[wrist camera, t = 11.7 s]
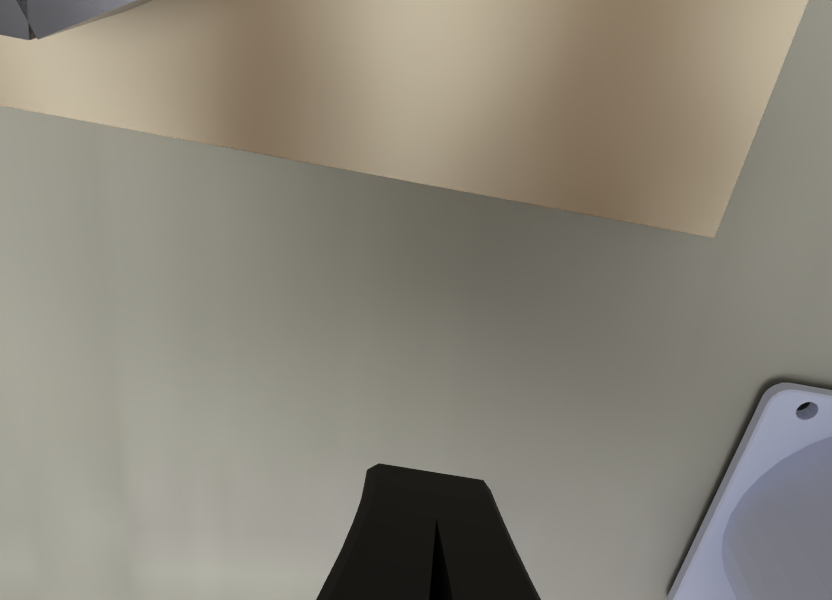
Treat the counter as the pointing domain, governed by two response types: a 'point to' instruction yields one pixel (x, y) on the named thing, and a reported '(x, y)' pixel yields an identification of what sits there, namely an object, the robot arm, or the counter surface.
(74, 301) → the counter surface
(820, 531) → the robot arm
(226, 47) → the board
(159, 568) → the counter surface
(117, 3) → the sleeve
